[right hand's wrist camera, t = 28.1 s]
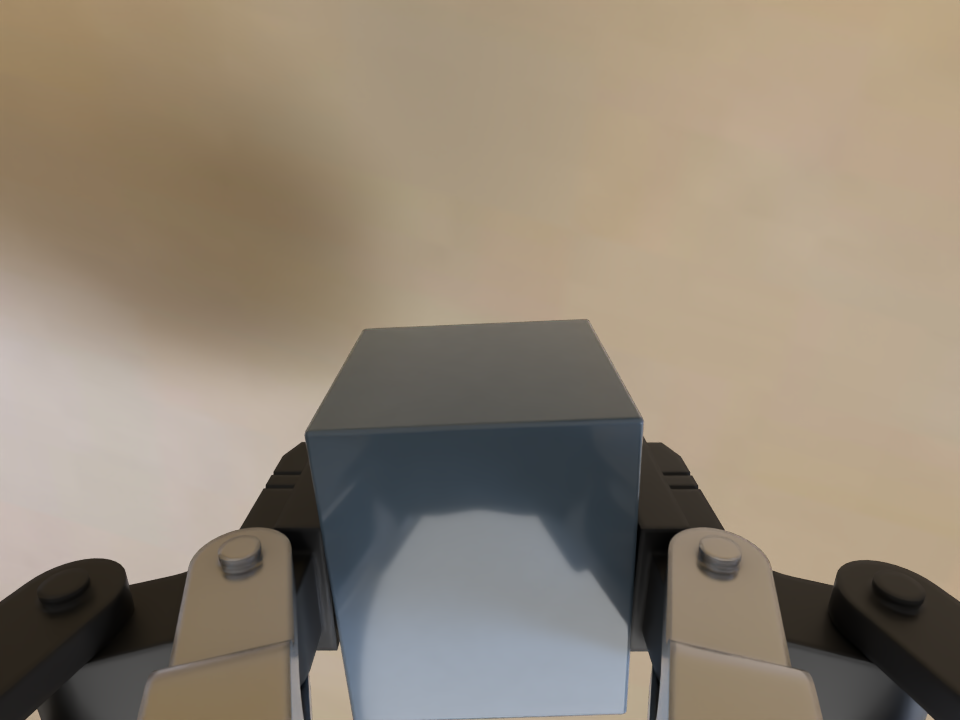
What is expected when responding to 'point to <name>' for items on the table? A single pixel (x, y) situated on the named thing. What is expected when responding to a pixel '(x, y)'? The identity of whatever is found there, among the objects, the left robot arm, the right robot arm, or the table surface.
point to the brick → (480, 521)
